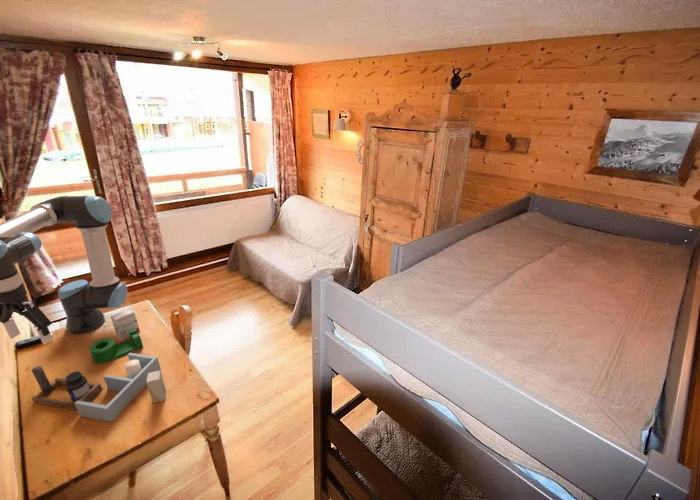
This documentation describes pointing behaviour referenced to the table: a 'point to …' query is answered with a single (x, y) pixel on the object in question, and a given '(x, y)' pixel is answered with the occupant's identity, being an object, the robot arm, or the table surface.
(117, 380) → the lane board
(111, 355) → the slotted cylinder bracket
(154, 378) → the box
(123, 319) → the ink box
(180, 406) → the table surface
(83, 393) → the pill bottle
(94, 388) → the wooden frame with peg
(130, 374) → the cream canister
